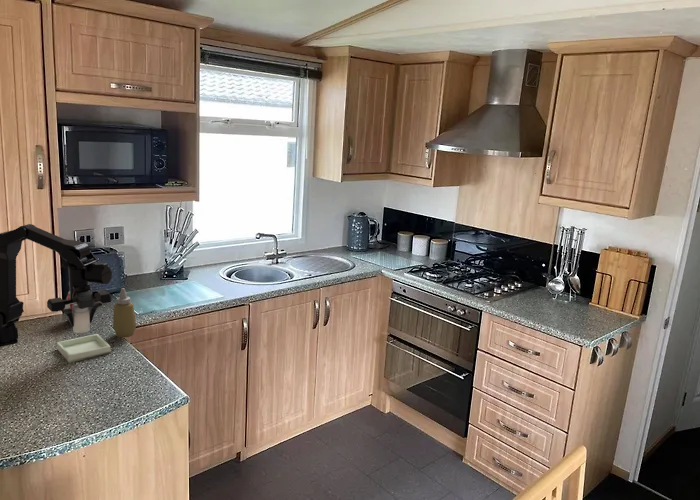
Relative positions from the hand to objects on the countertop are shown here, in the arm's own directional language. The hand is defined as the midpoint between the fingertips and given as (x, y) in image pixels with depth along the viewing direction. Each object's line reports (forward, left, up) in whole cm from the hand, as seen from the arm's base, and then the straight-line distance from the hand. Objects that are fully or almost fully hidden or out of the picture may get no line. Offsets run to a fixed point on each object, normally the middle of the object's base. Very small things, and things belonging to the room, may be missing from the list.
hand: (81, 324), depth 183 cm
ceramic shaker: (0, 0, -2) cm, 2 cm away
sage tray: (0, 0, -10) cm, 10 cm away
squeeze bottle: (+16, +6, -10) cm, 20 cm away
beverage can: (+7, +29, -10) cm, 31 cm away
